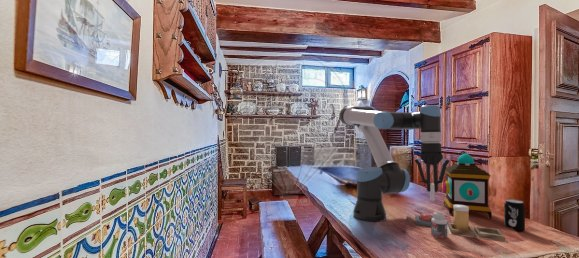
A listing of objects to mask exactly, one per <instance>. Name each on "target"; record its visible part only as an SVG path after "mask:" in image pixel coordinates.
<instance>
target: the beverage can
mask: <svg viewBox="0 0 579 258" xmlns="http://www.w3.org/2000/svg"><path fill="white" fill-rule="evenodd" d="M503 206H504V208H503V211H504V213H503V214H504V215H503V217H504V220H503V221H504V223H503V224H504V227H507V228H510V229H512V230H513V231H514V232H517V233H519V232H520V233H522V232H524V231H525V229H526V217H525V215H526V211H525V210H526V208H525V207H526V206H525V204H524V201H522V200H520V199H514V198H513V199H511V198H509V199H505V201H504V203H503Z"/></svg>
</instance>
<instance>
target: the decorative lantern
mask: <svg viewBox="0 0 579 258" xmlns="http://www.w3.org/2000/svg"><path fill="white" fill-rule="evenodd" d="M445 175H446V177H445V178H446V179H445V181H444V183H443V191H444V193H445V197H444V199H443V206H444V207H446V208H448V213H449V215H451V216H452V215H453V214H454V209H453V205H465V206H468V207H469V212H472V213H483V214H486V216H487V219H489V220H491V219H492V217H493V216H492V214H493V213H492V210H491V208H490V206H489V196H490V193H491V189H490V185H489V180H490V178H491V174H489V172H487V171H486V169H483V168H480V167H479V166H478V165H476V163H475V160H474V158H473V156H471V155H470V154H468V153H463V154H461V155H460V156H458V157H457V161H456V163H454V164H452V165H447V166H446V170H445Z"/></svg>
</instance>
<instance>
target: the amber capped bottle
mask: <svg viewBox="0 0 579 258" xmlns="http://www.w3.org/2000/svg"><path fill="white" fill-rule="evenodd" d="M453 209H454V210H453V224H454V229H456V230H464V231H469V226H470V222H469V221H470V220H469V219H470V217H469V215H470V214H469V212H470V211H469V207H468V206H465V205H453Z"/></svg>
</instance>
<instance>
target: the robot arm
mask: <svg viewBox="0 0 579 258" xmlns="http://www.w3.org/2000/svg"><path fill="white" fill-rule="evenodd" d="M338 116H339V120H340V122H341V123H343V124H344V125H346V126H351V127H352V126H354V127H355V126H356V127H357V129H358V131H359V132H361V133H362V135H363V136H364V138H365V141H366V144H367V146H368V147H369V151H370V153H371V155H372V157H373V160H374V162H375V164H376V166H368V167H362V168H360V169H358V170H357V174H356V175H357V176H356V201H355V205H354V208H353V211H352V212H353V217H354V216H355V217H354V218H356V219H358V220H361V221H366V222H381V220H382V221H385V220H386V219H387V213H386V209H385V207H384V203H383V195H385V194H386V195H387V194H399V193H403V192H405V191H407V190H408V189H409V187H410V183H411V177H410V174H409V172H408V170H406V169H405V168H401V166H400V165H399V163H398V161H394V159H393V157H392V155H391V152H390V151H389V149H388V146H387V144H386V142H385V140H384V138H383V136H382V134H381V132H380V130H420V142H421V143H420V154H419V157H417V158H415V159H414V162H415V163H416V165H417V169H418V171H419V175H420V180H421V182H423V183H426V191H427V192H428V193H429V200H430V201H436V193H438V189H439V187H438V185H439V184H442V183H443V181H444V177H445V175H446V172H445V170H446V167H448V165H449V163H450V160H449V159H446V158H445V157H444V155H443V153H442V152H443V151H442V143H441V142H442V133H441V132H442V130H441V125H442V124H441V123H442V122H441V121H442V120H441V119H442V118H441V117H442V114H441V108H440V106H439V105H436V104H430V105H429V104H428V105H426V104H425V105H422V106H420V108H419V111H415V112H406V111H405V112H402V111H401V112H400V111H399V112H397V111H383V110H382V111H379V110H377V108H375V107H374V106H370V105H364V106H362V105H346V106H344V107H343V108H341V110H340V111H339V115H338ZM422 162H423V163H424V164H425V172H426V174H424V171H423V167H422V165H421V164H422ZM440 162H441V163H442V165H441V169H440V171H439V176H438V165H439V163H440ZM431 165H432V177H433V179H432V180H433V182H432V183H431ZM425 175H426V176H425ZM425 177H426V178H425ZM384 219H385V220H384Z"/></svg>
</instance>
